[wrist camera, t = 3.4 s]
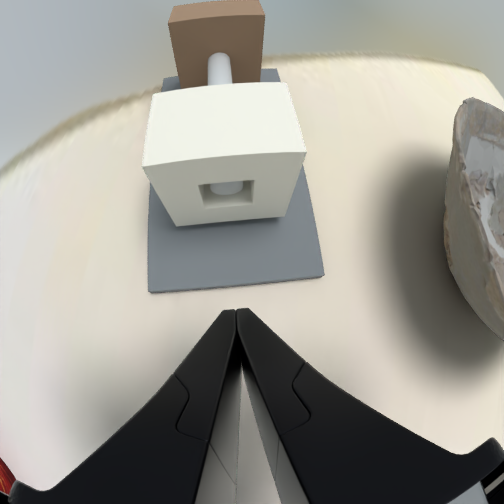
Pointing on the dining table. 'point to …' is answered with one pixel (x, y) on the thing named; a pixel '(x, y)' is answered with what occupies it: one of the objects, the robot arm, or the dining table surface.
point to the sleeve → (224, 151)
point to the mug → (5, 478)
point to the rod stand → (230, 232)
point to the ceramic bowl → (477, 210)
